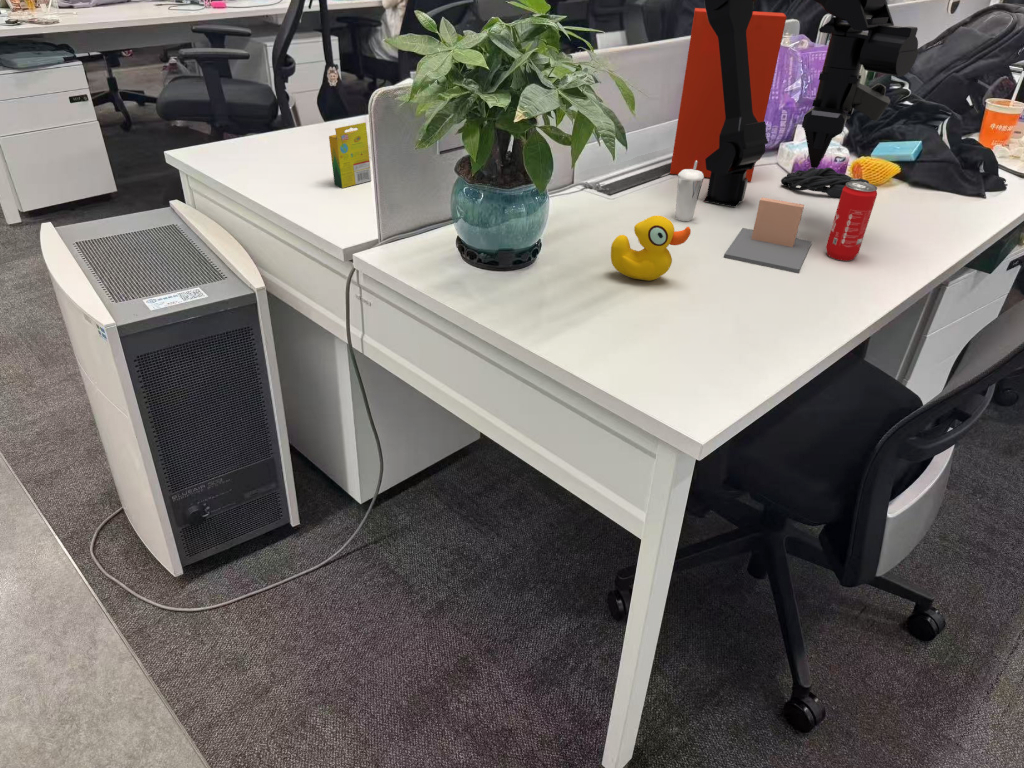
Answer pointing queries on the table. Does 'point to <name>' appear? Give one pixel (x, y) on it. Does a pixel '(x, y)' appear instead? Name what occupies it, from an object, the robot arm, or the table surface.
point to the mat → (768, 252)
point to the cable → (819, 181)
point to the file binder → (721, 86)
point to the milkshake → (688, 193)
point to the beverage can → (851, 220)
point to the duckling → (647, 249)
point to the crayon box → (350, 156)
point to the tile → (777, 221)
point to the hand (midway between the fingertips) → (817, 162)
